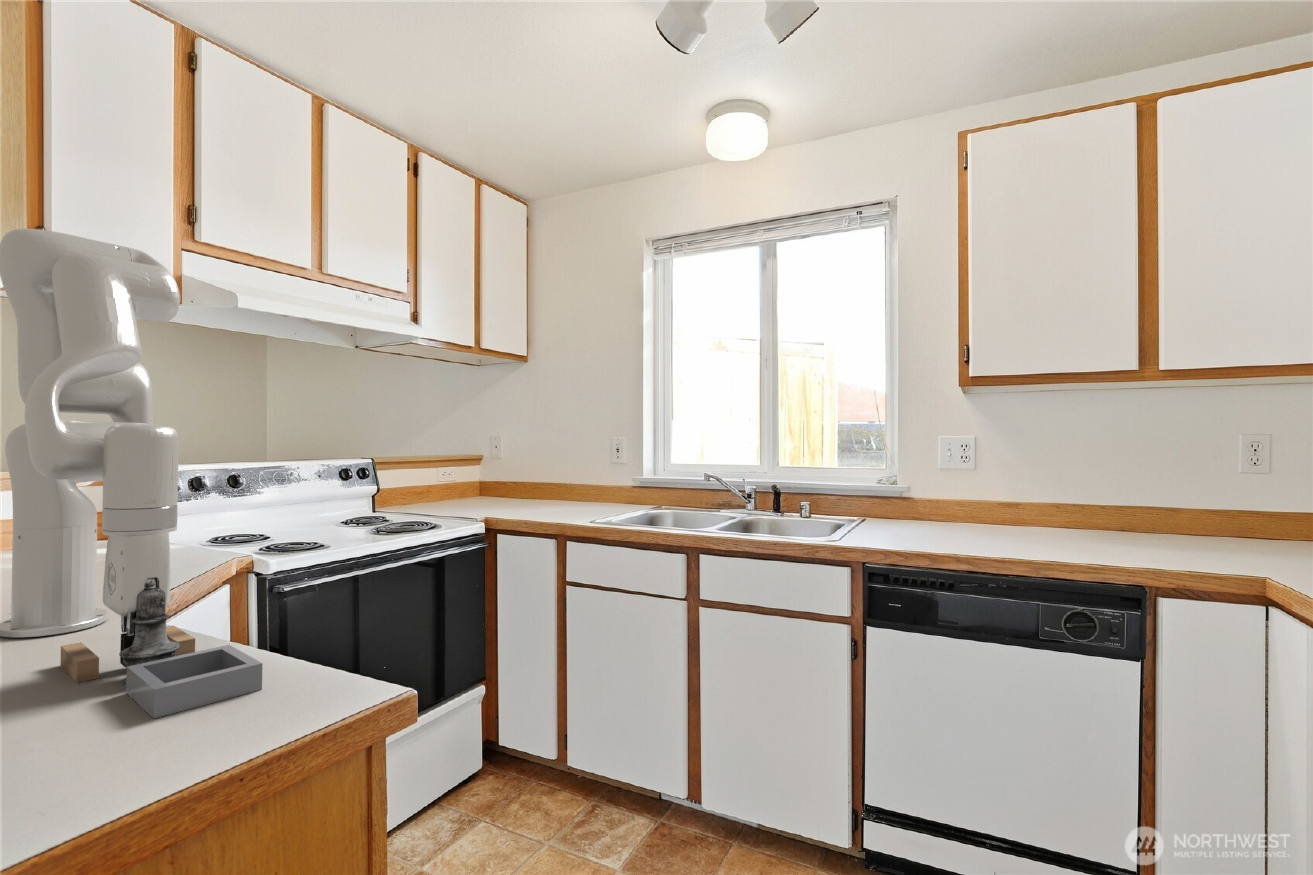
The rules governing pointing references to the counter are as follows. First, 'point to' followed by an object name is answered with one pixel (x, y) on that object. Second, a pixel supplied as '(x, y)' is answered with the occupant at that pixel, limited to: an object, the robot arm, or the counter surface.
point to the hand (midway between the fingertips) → (137, 663)
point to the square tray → (192, 680)
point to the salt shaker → (149, 630)
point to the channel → (86, 663)
